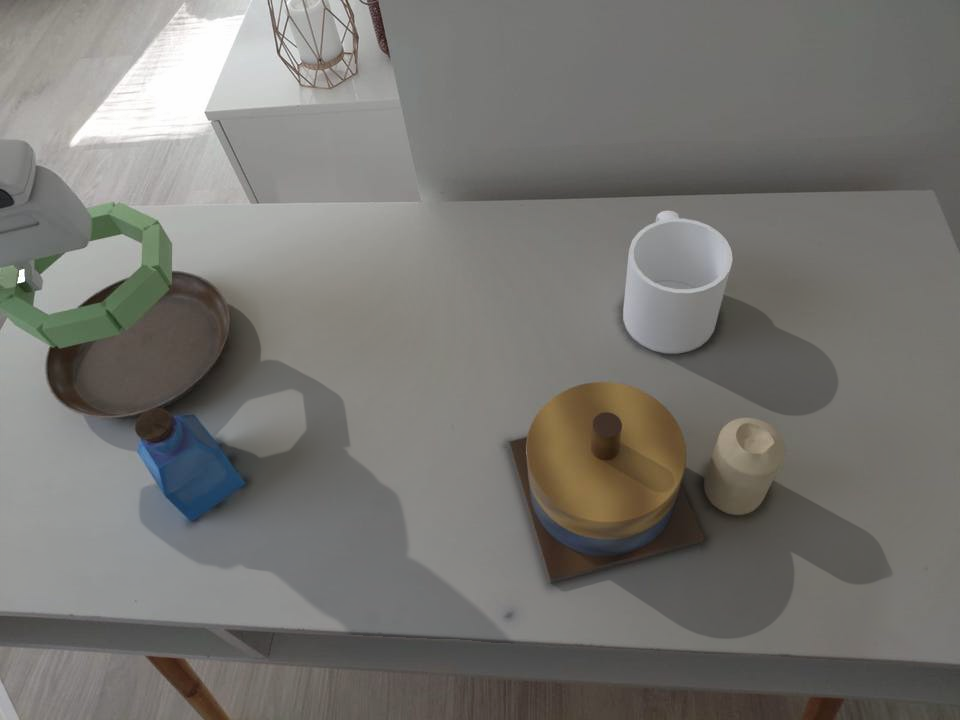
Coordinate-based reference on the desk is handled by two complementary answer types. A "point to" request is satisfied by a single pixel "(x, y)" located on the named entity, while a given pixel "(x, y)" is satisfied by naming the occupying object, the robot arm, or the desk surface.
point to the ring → (117, 307)
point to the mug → (675, 283)
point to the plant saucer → (144, 353)
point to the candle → (743, 465)
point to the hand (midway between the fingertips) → (19, 290)
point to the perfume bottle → (185, 461)
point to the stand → (604, 479)
